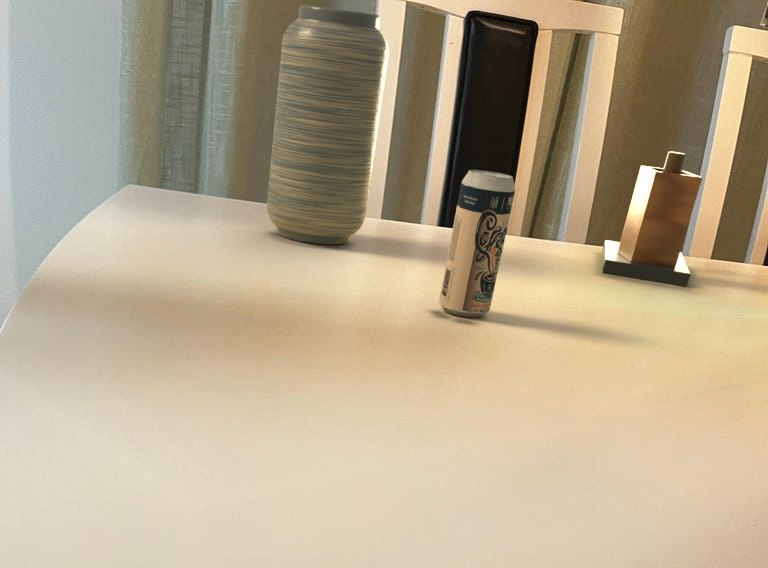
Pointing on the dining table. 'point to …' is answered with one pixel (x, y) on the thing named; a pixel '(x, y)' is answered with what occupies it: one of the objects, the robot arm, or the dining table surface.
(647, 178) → the sleeve
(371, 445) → the dining table surface
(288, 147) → the vase
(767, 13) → the robot arm
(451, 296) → the drink can
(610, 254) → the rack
